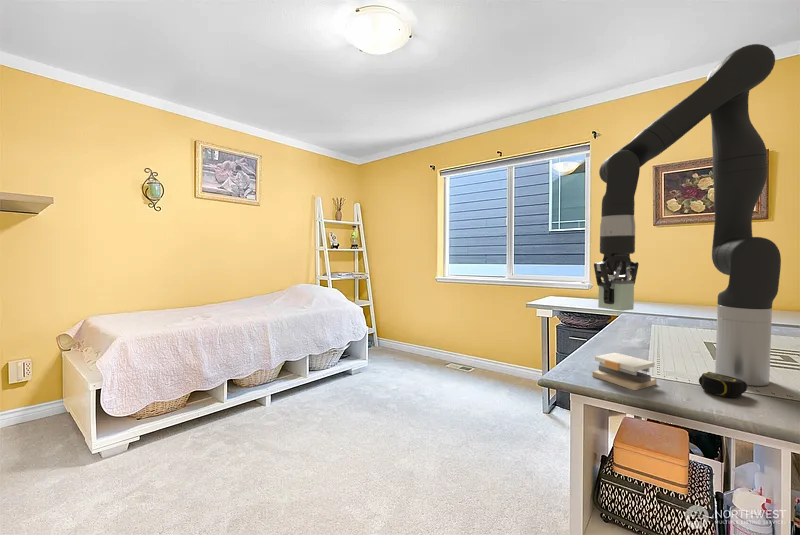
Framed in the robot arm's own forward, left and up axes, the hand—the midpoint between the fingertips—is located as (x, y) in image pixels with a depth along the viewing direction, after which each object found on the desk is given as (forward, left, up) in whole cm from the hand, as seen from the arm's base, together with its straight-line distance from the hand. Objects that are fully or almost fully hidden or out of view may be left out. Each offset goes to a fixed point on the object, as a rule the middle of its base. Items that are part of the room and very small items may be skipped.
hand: (615, 302), depth 90 cm
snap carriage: (+5, +5, -14) cm, 16 cm away
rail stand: (+5, +5, -17) cm, 19 cm away
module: (0, 0, -1) cm, 1 cm away
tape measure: (-7, +19, -18) cm, 27 cm away
